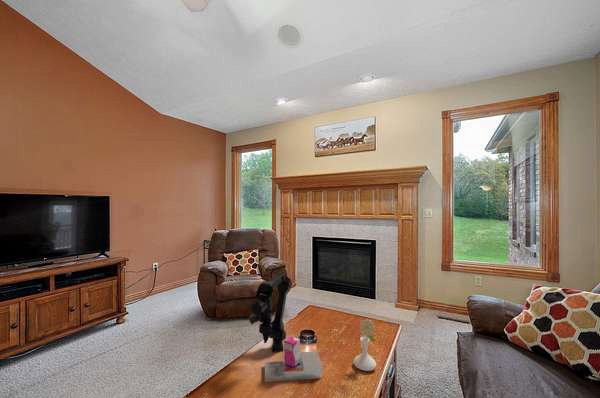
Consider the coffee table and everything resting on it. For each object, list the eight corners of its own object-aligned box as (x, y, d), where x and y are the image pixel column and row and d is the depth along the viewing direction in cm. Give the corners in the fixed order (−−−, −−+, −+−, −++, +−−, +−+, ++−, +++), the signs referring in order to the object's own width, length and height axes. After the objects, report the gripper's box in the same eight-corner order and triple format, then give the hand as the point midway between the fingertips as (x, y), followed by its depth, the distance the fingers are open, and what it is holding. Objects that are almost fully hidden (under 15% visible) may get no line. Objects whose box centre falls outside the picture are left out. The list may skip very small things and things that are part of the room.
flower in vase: (349, 362, 137) (349, 314, 138) (366, 358, 142) (367, 311, 142) (364, 377, 125) (364, 324, 126) (383, 372, 130) (383, 321, 130)
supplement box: (291, 358, 133) (291, 335, 134) (300, 362, 129) (300, 339, 130) (284, 363, 129) (283, 339, 129) (293, 368, 125) (292, 343, 125)
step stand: (264, 366, 133) (265, 354, 133) (317, 363, 136) (317, 351, 137) (264, 381, 121) (264, 368, 121) (322, 378, 124) (322, 365, 125)
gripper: (251, 301, 144) (250, 330, 144) (248, 315, 126) (248, 348, 125) (271, 301, 145) (271, 329, 145) (272, 314, 127) (271, 347, 126)
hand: (265, 338), depth 135 cm, fingers open, 9 cm apart
